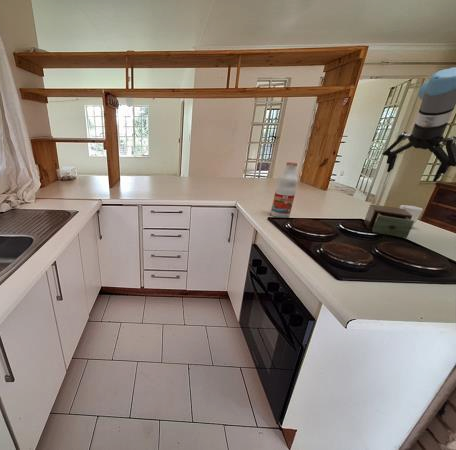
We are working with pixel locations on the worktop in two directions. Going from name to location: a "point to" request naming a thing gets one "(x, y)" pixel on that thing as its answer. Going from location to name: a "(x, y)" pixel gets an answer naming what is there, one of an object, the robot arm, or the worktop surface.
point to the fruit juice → (285, 192)
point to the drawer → (391, 224)
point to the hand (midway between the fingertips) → (411, 174)
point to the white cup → (412, 212)
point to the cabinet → (383, 209)
